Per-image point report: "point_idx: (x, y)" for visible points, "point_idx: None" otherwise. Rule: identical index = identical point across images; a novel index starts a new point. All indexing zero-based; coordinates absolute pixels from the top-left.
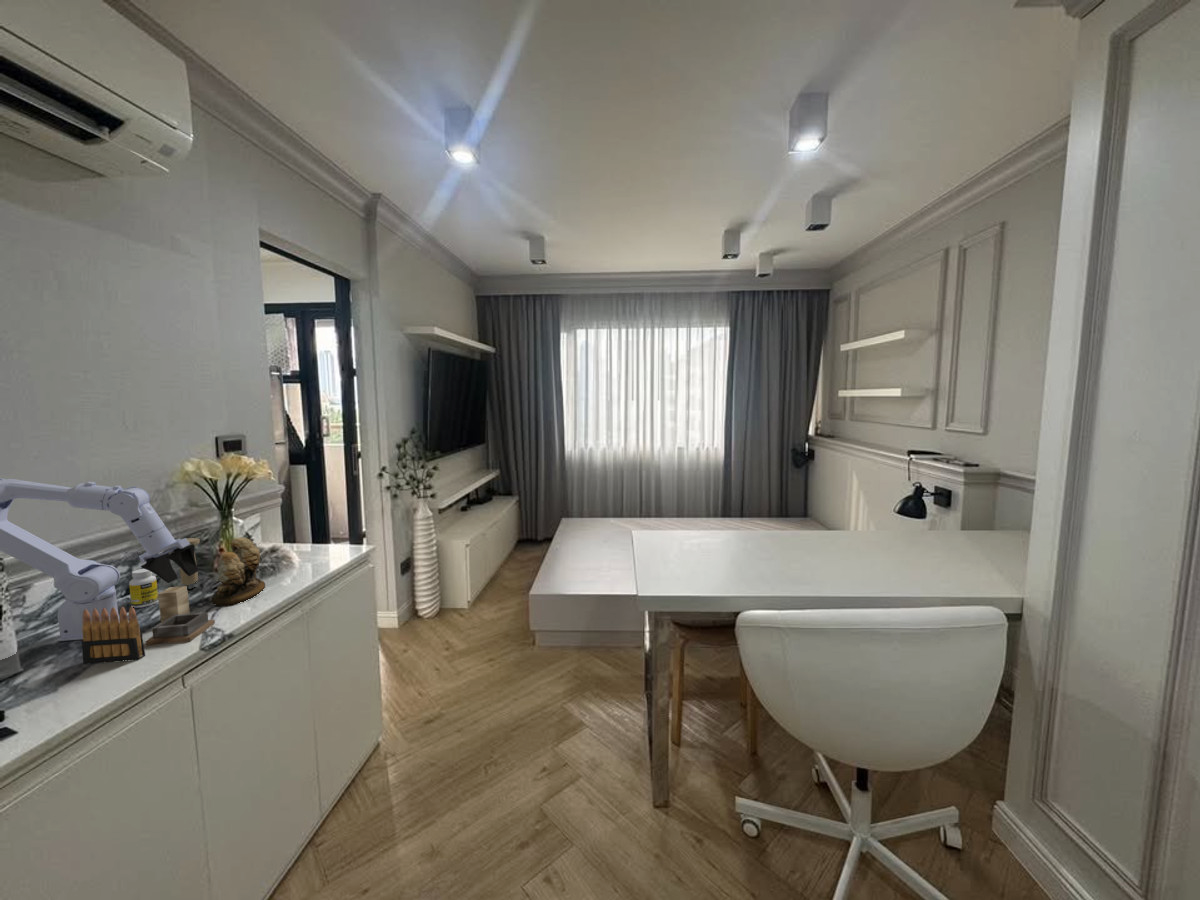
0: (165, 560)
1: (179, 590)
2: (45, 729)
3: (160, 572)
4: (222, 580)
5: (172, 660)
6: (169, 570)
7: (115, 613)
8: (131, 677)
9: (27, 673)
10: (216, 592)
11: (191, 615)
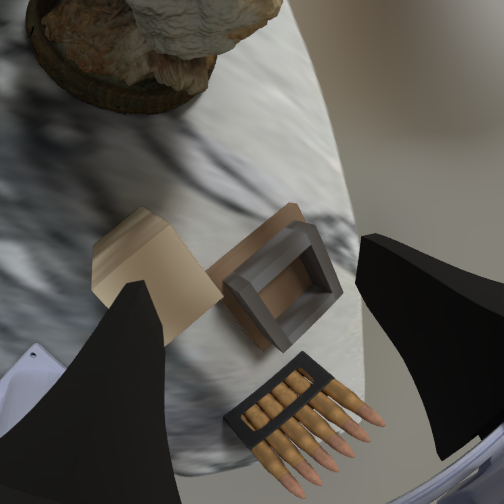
0: (118, 458)
1: (209, 277)
2: (354, 415)
3: (160, 417)
4: (203, 55)
5: (355, 320)
6: (136, 360)
7: (347, 444)
8: (345, 366)
9: (186, 468)
10: (90, 71)
11: (290, 260)
